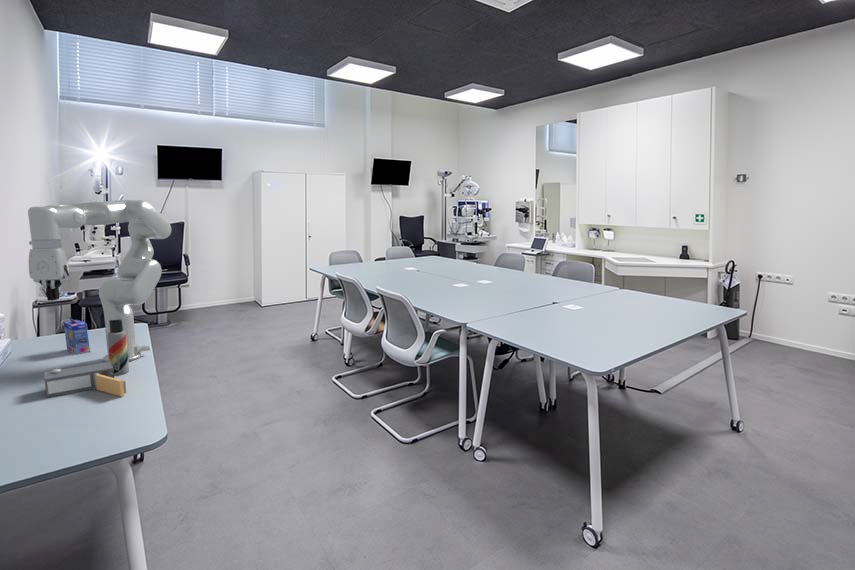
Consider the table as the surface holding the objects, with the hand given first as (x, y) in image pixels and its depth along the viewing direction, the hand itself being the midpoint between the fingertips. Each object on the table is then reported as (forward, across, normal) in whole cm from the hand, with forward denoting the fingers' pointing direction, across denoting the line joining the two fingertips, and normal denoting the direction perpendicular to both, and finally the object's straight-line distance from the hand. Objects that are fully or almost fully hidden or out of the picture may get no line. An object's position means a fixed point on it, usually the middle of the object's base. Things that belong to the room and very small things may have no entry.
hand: (53, 299), depth 156 cm
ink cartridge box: (+29, -18, +33) cm, 48 cm away
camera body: (+29, +10, -5) cm, 31 cm away
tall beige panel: (+28, +22, -9) cm, 37 cm away
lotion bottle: (+29, +14, +9) cm, 33 cm away
